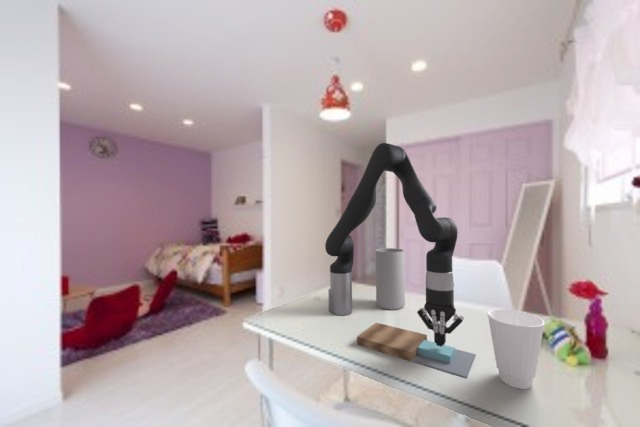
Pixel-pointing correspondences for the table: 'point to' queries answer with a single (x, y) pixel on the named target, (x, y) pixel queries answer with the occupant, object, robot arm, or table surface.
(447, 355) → the tile
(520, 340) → the cup
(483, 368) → the table surface
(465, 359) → the mat
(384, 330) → the block
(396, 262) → the cylinder vase
